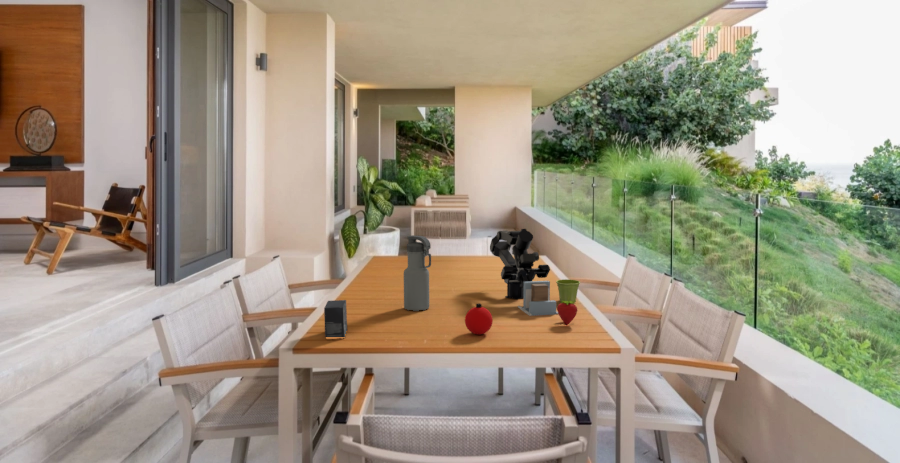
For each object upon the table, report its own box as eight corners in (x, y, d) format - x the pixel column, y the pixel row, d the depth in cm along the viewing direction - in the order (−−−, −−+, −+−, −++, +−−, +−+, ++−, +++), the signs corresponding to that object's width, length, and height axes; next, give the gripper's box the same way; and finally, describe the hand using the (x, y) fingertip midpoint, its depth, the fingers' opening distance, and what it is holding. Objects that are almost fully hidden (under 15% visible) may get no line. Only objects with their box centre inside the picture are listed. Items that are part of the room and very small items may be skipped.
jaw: (523, 308, 230) (523, 281, 229) (547, 306, 232) (548, 280, 231) (525, 309, 228) (525, 282, 227) (549, 308, 229) (550, 281, 228)
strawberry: (564, 321, 215) (564, 293, 214) (581, 325, 210) (581, 296, 209) (552, 324, 212) (553, 295, 211) (569, 328, 206) (570, 299, 205)
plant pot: (579, 306, 239) (580, 284, 238) (555, 305, 241) (555, 283, 240) (579, 300, 248) (580, 279, 248) (556, 300, 250) (556, 279, 249)
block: (531, 310, 228) (531, 284, 227) (544, 310, 229) (544, 283, 228) (534, 313, 224) (535, 286, 223) (547, 312, 225) (548, 285, 224)
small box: (327, 331, 204) (327, 300, 203) (347, 330, 205) (347, 299, 204) (324, 339, 194) (323, 307, 193) (345, 339, 194) (344, 306, 193)
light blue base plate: (517, 309, 234) (517, 305, 234) (545, 307, 236) (545, 304, 236) (529, 317, 221) (529, 314, 220) (559, 316, 223) (559, 312, 223)
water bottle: (434, 307, 238) (434, 235, 235) (423, 312, 229) (422, 238, 227) (411, 304, 243) (410, 234, 240) (399, 310, 234) (398, 236, 231)
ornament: (494, 337, 195) (494, 306, 194) (466, 338, 195) (466, 307, 194) (490, 330, 204) (490, 300, 203) (463, 330, 204) (463, 301, 203)
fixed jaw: (528, 313, 224) (528, 301, 223) (553, 312, 226) (553, 300, 225) (530, 315, 222) (530, 302, 221) (556, 313, 223) (556, 301, 223)
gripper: (503, 245, 238) (511, 279, 229) (548, 244, 242) (558, 277, 232) (497, 262, 247) (505, 295, 237) (541, 260, 250) (550, 293, 241)
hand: (530, 290), depth 237 cm, fingers closed
